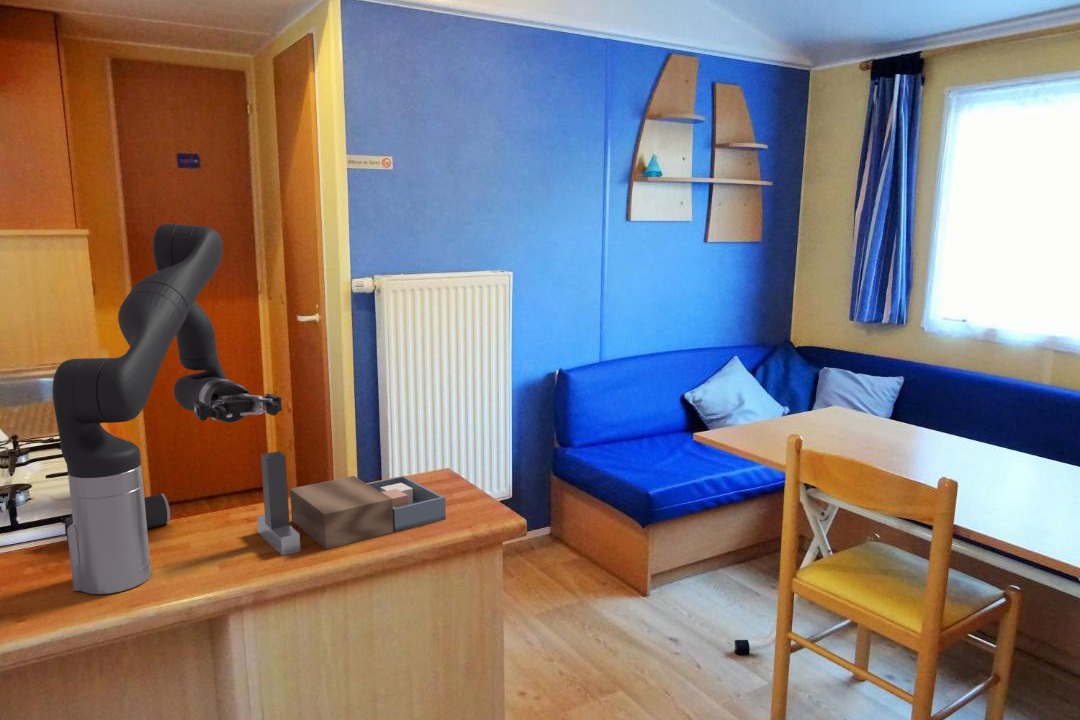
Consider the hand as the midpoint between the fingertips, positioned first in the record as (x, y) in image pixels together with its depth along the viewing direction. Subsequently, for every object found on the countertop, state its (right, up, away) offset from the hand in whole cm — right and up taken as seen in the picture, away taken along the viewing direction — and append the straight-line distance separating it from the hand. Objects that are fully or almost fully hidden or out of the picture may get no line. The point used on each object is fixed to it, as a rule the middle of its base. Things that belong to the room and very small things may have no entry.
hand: (250, 412), depth 131 cm
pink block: (+23, -17, +3) cm, 29 cm away
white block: (+23, -15, +11) cm, 30 cm away
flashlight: (-22, -21, -1) cm, 30 cm away
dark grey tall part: (+7, -21, -5) cm, 23 cm away
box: (+25, -19, +8) cm, 32 cm away
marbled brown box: (+16, -20, +1) cm, 25 cm away
